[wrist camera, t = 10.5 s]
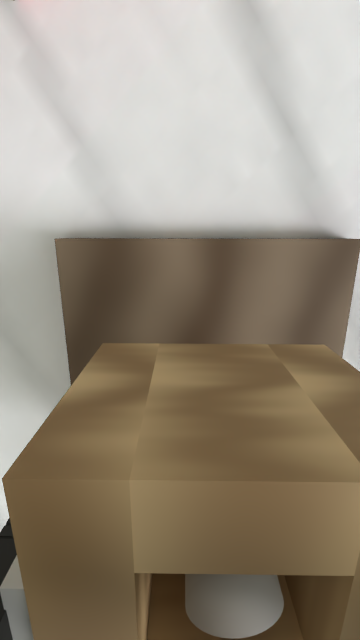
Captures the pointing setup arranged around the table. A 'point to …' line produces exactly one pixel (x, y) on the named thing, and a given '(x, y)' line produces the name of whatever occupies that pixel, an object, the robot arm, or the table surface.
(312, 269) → the board
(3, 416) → the table surface
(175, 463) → the bead
